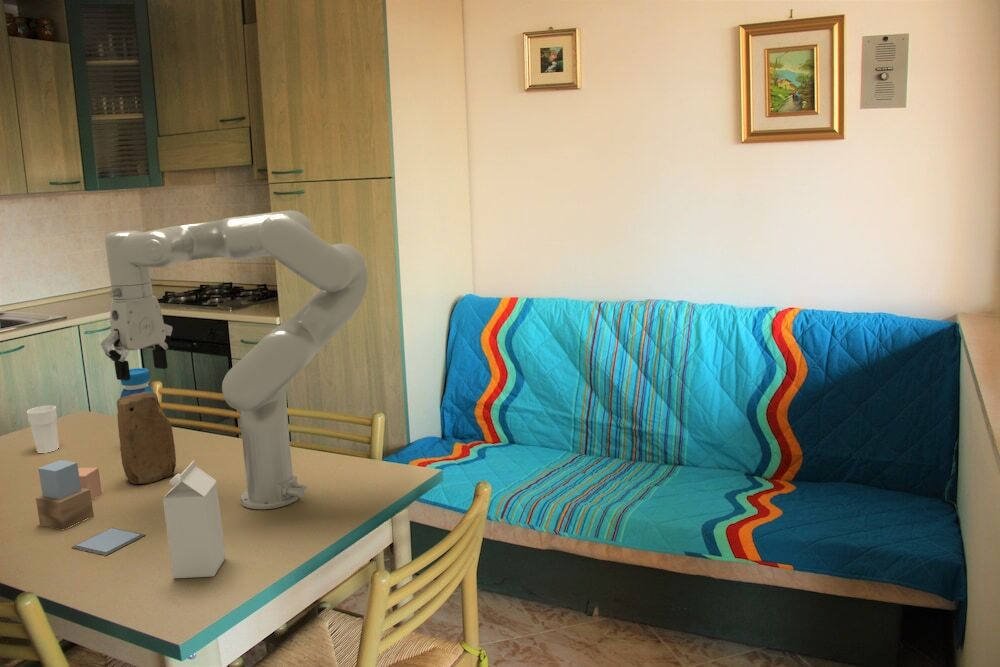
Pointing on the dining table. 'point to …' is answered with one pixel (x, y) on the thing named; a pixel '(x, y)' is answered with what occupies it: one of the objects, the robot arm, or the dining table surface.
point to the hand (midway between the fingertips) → (142, 373)
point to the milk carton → (194, 524)
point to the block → (145, 438)
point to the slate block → (59, 479)
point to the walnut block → (65, 509)
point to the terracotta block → (90, 480)
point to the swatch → (108, 541)
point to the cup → (44, 428)
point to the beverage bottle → (136, 382)
